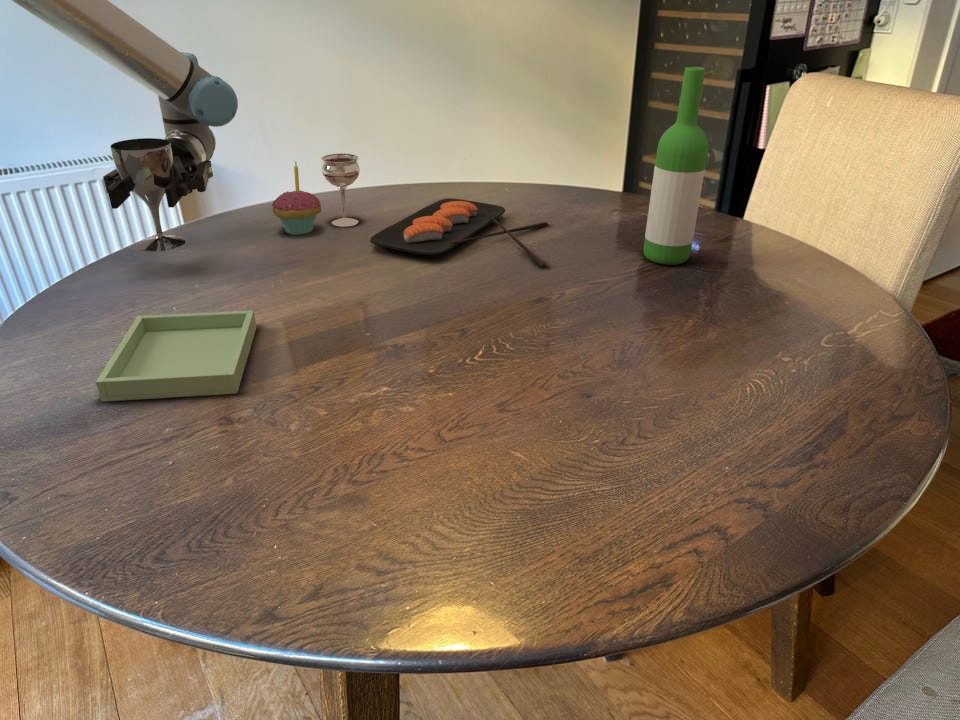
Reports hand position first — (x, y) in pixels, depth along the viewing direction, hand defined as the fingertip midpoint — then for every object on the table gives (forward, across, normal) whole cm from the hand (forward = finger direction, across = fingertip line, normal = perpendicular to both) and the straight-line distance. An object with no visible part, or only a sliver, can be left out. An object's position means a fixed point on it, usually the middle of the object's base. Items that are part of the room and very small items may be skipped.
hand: (140, 198), depth 100 cm
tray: (+25, +9, +13) cm, 30 cm away
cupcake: (-22, +19, +13) cm, 32 cm away
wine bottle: (-2, +81, +13) cm, 82 cm away
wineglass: (-26, +27, +13) cm, 40 cm away
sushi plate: (-14, +51, +13) cm, 55 cm away
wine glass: (-5, 0, +9) cm, 10 cm away
